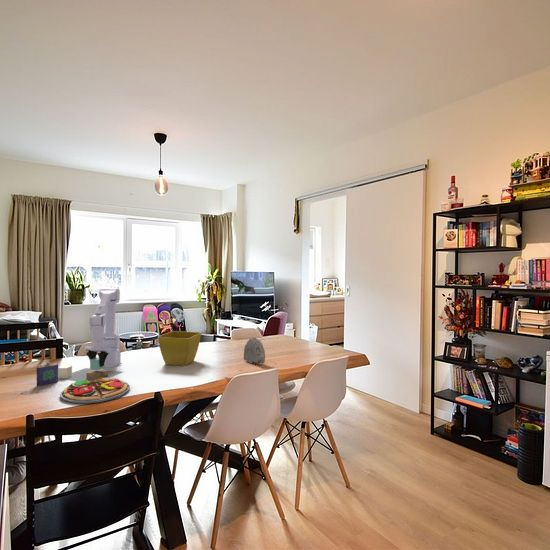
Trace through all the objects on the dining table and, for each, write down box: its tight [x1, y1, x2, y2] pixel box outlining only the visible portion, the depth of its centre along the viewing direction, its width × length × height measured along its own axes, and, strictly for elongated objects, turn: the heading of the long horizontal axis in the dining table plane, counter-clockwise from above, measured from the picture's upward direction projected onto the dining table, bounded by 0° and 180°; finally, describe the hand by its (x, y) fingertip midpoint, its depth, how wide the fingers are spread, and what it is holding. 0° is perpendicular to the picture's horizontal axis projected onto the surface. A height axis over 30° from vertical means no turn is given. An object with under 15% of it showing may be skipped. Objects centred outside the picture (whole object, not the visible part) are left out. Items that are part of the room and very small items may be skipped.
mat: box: [58, 367, 123, 382], centre depth 186 cm, size 20×24×1 cm
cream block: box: [58, 365, 73, 378], centre depth 183 cm, size 4×4×5 cm
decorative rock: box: [243, 337, 266, 365], centre depth 216 cm, size 16×7×15 cm, turn 36°
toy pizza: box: [59, 377, 131, 404], centre depth 161 cm, size 28×28×4 cm
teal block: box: [89, 356, 105, 370], centre depth 182 cm, size 4×4×5 cm
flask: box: [36, 361, 59, 387], centre depth 172 cm, size 9×3×11 cm, turn 144°
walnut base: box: [86, 368, 109, 380], centre depth 182 cm, size 7×7×3 cm
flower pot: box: [157, 330, 202, 367], centre depth 214 cm, size 19×19×17 cm
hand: (97, 365), depth 182 cm, fingers closed on teal block, 4 cm apart
